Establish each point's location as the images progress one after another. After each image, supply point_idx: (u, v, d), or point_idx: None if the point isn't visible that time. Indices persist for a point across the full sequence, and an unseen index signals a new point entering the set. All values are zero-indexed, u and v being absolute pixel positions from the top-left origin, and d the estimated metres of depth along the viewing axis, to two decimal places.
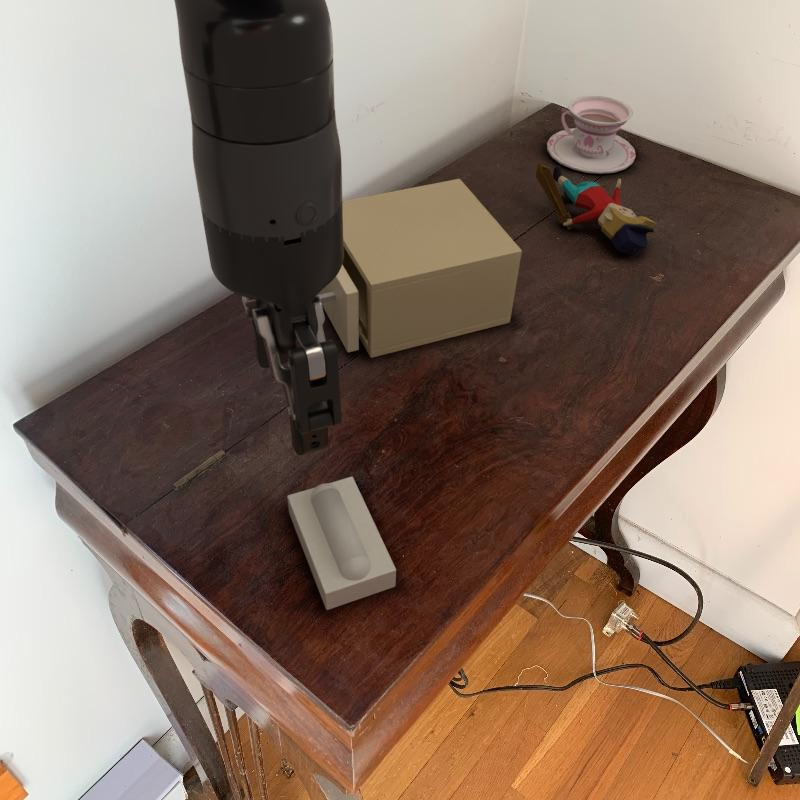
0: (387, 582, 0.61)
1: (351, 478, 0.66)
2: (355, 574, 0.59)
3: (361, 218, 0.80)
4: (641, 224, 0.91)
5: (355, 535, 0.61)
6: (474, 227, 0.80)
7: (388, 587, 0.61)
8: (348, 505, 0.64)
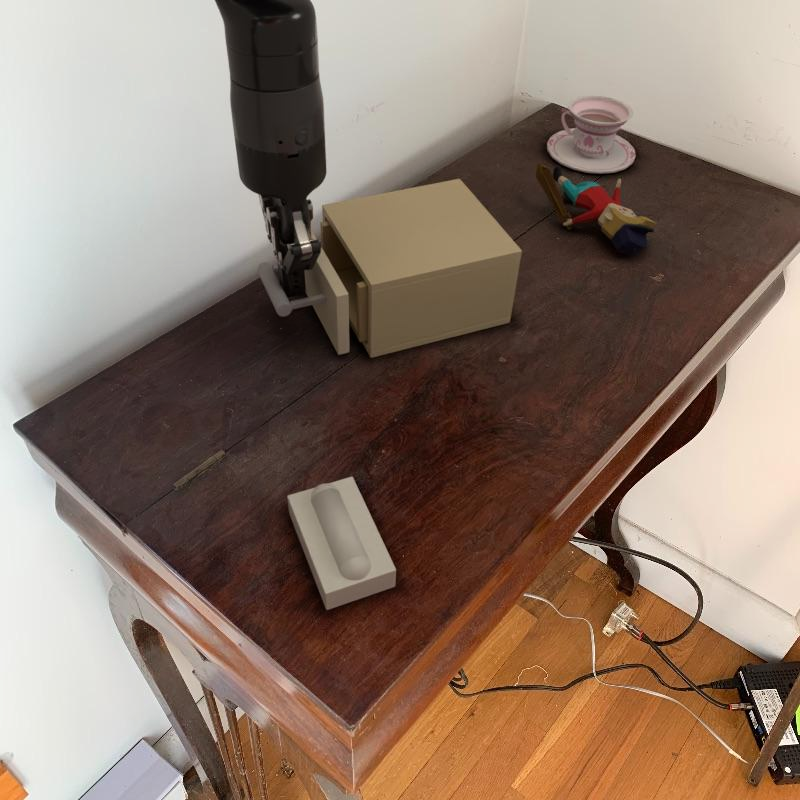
0: (387, 582, 0.61)
1: (351, 478, 0.66)
2: (355, 574, 0.59)
3: (361, 218, 0.80)
4: (641, 224, 0.91)
5: (355, 535, 0.61)
6: (474, 227, 0.80)
7: (388, 587, 0.61)
8: (348, 505, 0.64)
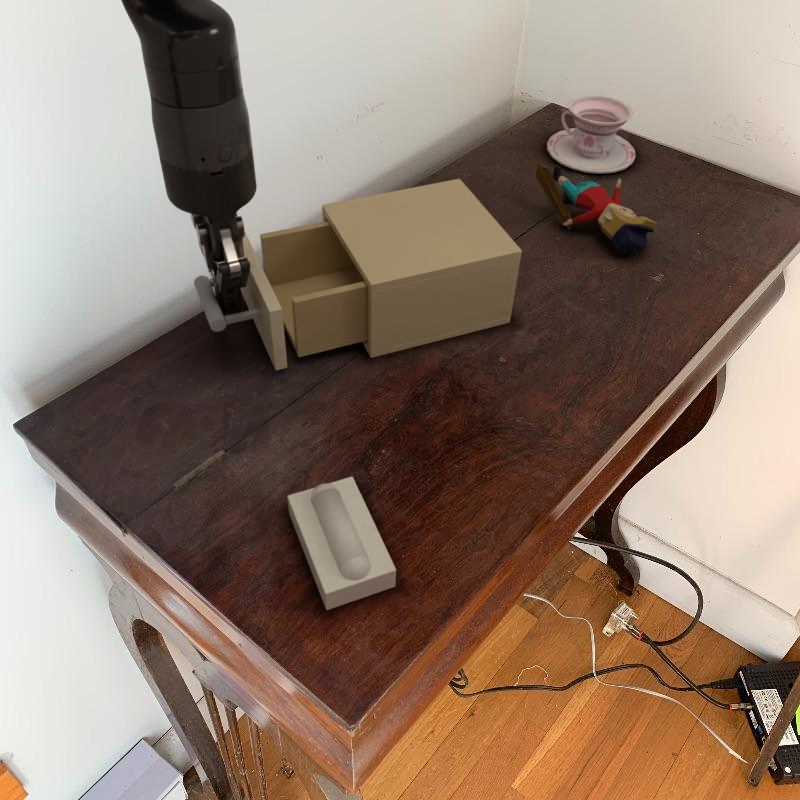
0: (387, 582, 0.61)
1: (351, 478, 0.66)
2: (355, 574, 0.59)
3: (361, 218, 0.80)
4: (641, 224, 0.91)
5: (355, 535, 0.61)
6: (474, 227, 0.80)
7: (388, 587, 0.61)
8: (348, 505, 0.64)
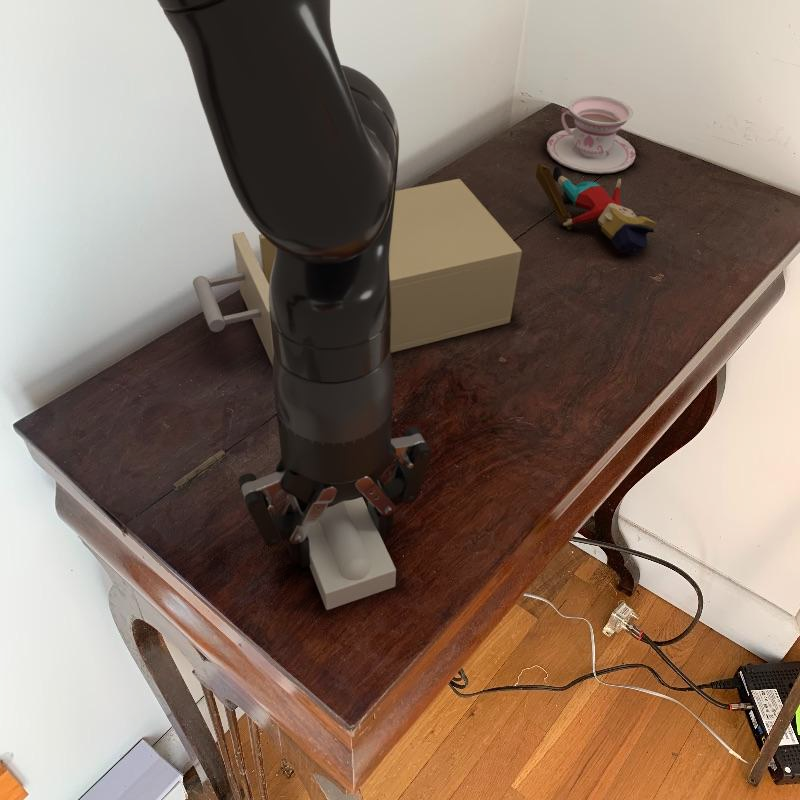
0: (387, 582, 0.61)
1: None
2: (355, 574, 0.59)
3: None
4: (641, 224, 0.91)
5: (355, 535, 0.61)
6: (474, 227, 0.80)
7: (388, 587, 0.61)
8: (348, 505, 0.64)
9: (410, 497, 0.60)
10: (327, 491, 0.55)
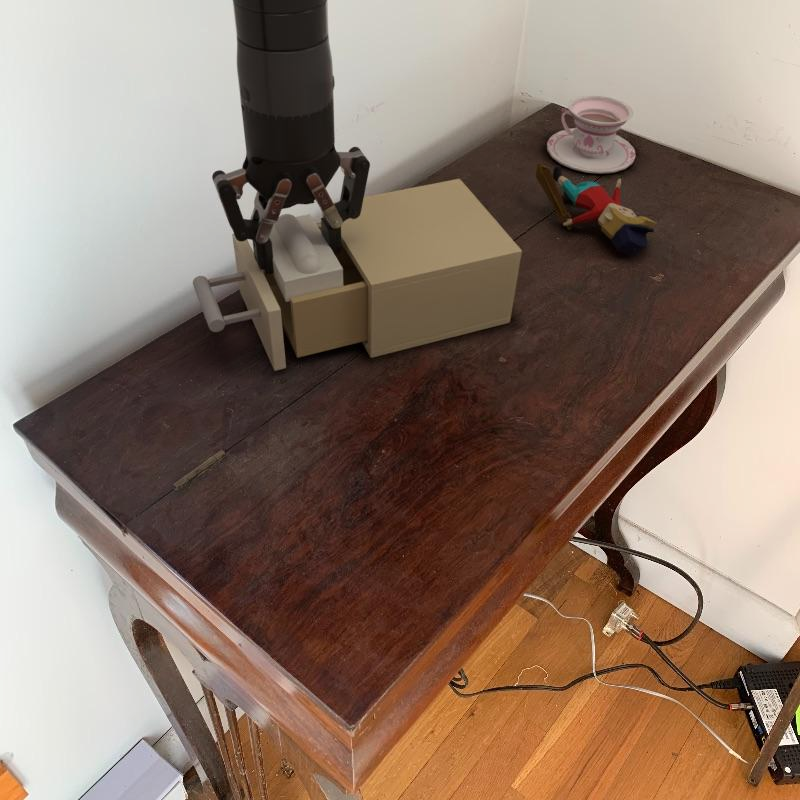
0: (336, 281, 0.74)
1: (309, 215, 0.79)
2: (308, 268, 0.72)
3: (361, 218, 0.80)
4: (641, 224, 0.91)
5: (310, 244, 0.74)
6: (474, 227, 0.80)
7: None
8: (306, 231, 0.77)
9: (354, 211, 0.74)
10: (283, 182, 0.68)
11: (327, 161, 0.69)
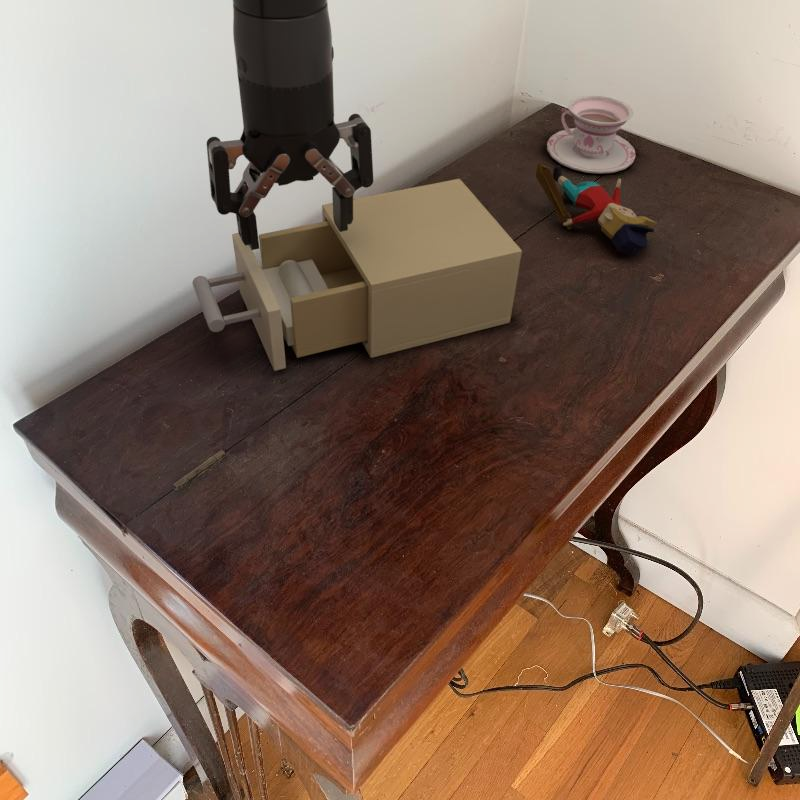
0: None
1: (311, 260, 0.83)
2: None
3: (361, 218, 0.80)
4: (641, 224, 0.91)
5: (311, 291, 0.78)
6: (474, 227, 0.80)
7: None
8: (308, 276, 0.81)
9: (366, 180, 0.72)
10: (282, 157, 0.67)
11: (326, 136, 0.68)
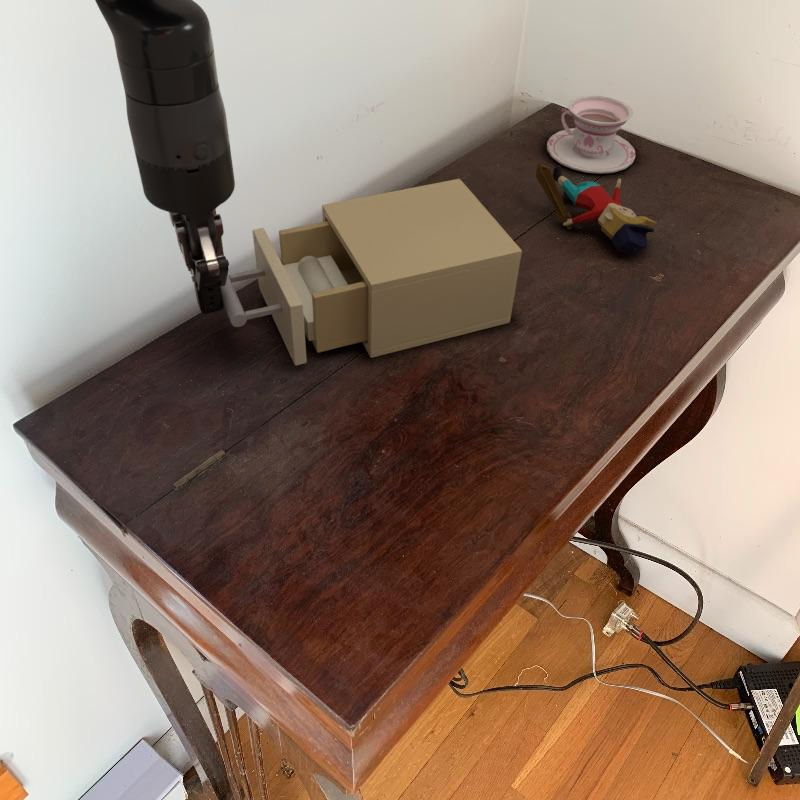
0: None
1: (330, 256, 0.84)
2: None
3: (361, 218, 0.80)
4: (641, 224, 0.91)
5: (331, 286, 0.79)
6: (474, 227, 0.80)
7: None
8: (327, 272, 0.82)
9: None
10: None
11: None
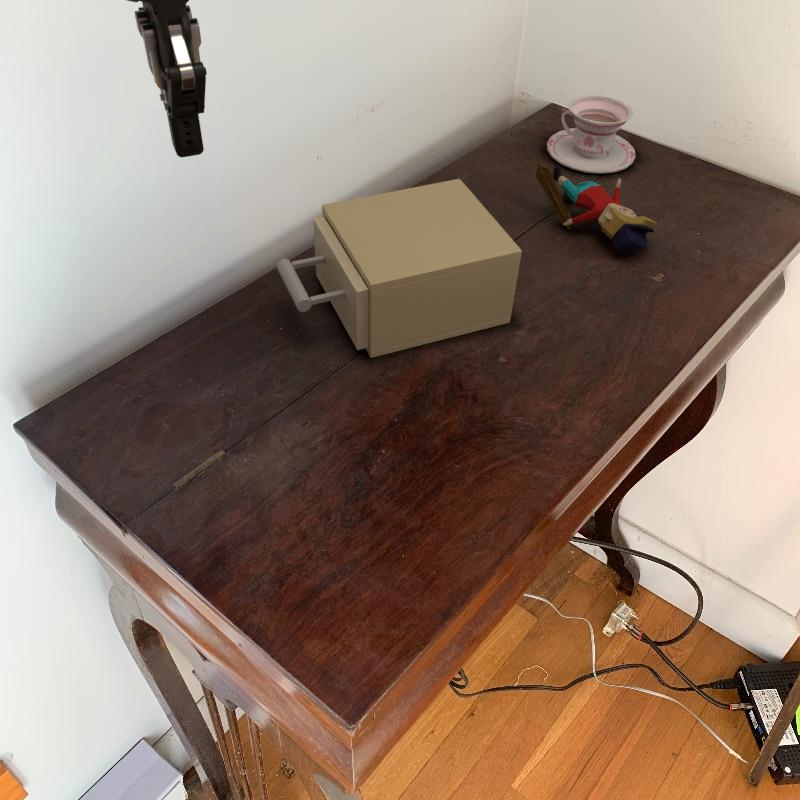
0: None
1: None
2: None
3: (361, 218, 0.80)
4: (641, 224, 0.91)
5: None
6: (474, 227, 0.80)
7: None
8: None
9: None
10: None
11: None
